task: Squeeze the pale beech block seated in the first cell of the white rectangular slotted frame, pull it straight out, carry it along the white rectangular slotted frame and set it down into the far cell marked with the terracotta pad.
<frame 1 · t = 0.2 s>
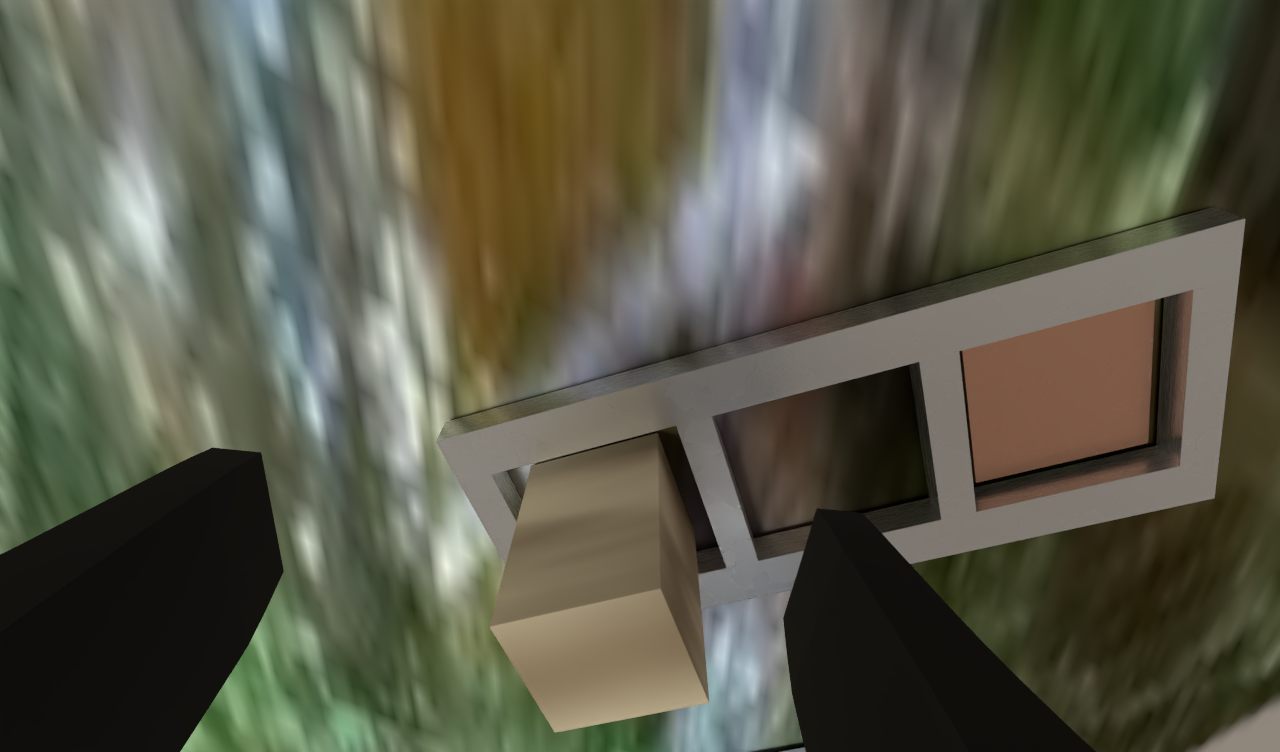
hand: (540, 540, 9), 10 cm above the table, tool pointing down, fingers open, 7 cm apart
white rectangular slotted frame: (823, 449, 20), on the table
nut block: (615, 500, 21), resting in white rectangular slotted frame
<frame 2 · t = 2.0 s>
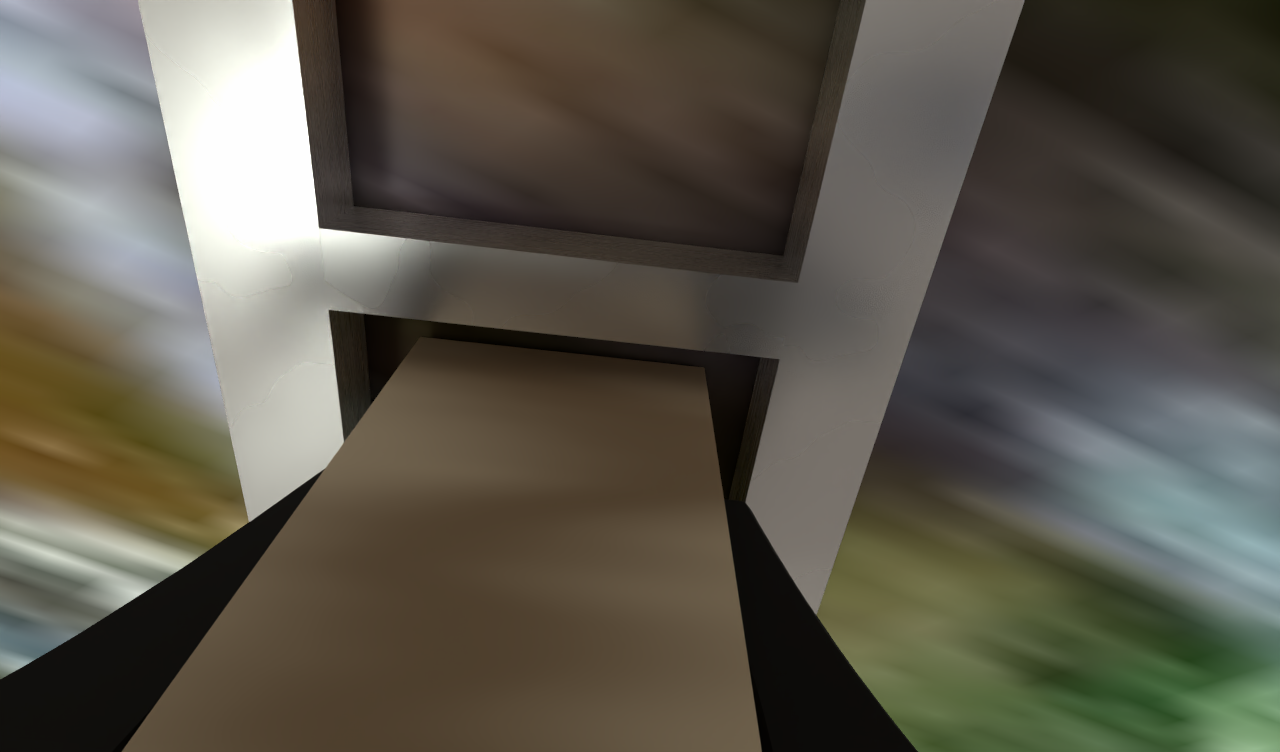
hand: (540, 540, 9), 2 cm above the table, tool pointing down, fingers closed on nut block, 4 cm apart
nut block: (555, 467, 10), resting in white rectangular slotted frame, touching gripper
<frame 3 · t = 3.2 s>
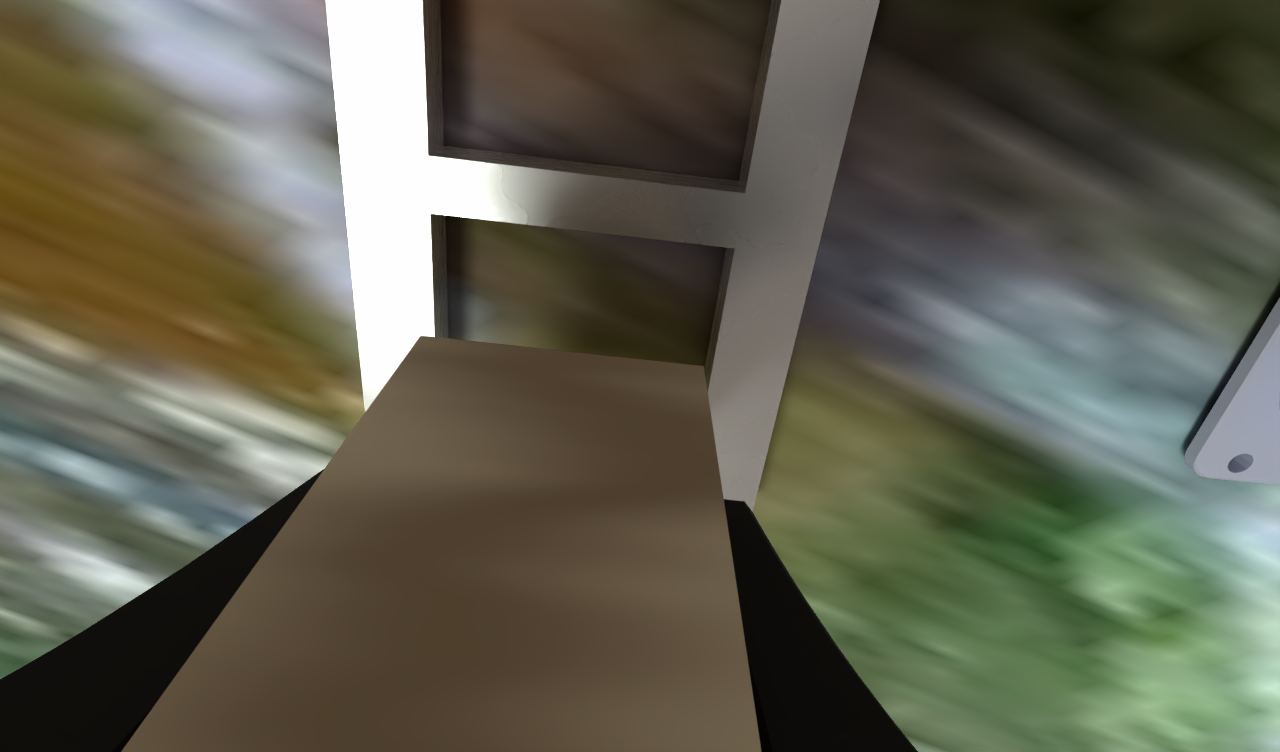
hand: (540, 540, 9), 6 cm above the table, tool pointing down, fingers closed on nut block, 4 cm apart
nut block: (555, 465, 10), point 4 cm above the table, touching gripper
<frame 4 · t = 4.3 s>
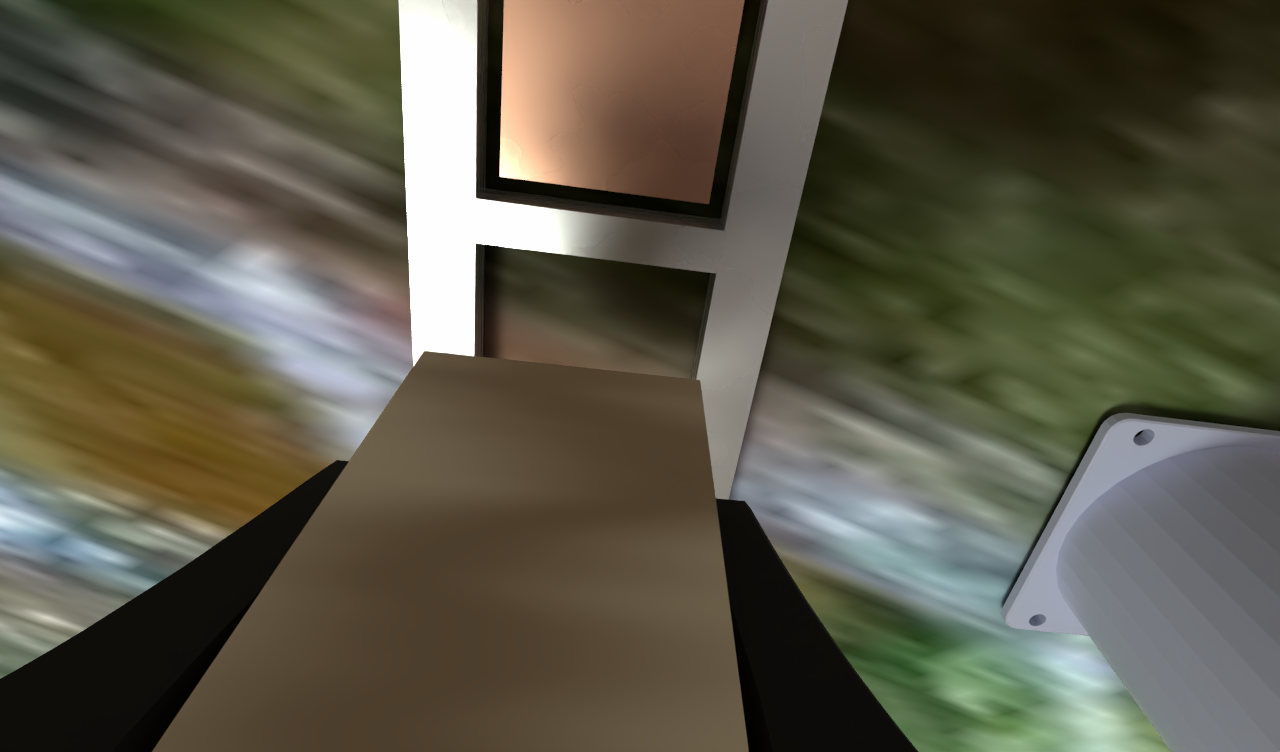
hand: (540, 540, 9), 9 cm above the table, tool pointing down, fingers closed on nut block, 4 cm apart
white rectangular slotted frame: (589, 347, 17), on the table
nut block: (556, 476, 11), point 7 cm above the table, touching gripper
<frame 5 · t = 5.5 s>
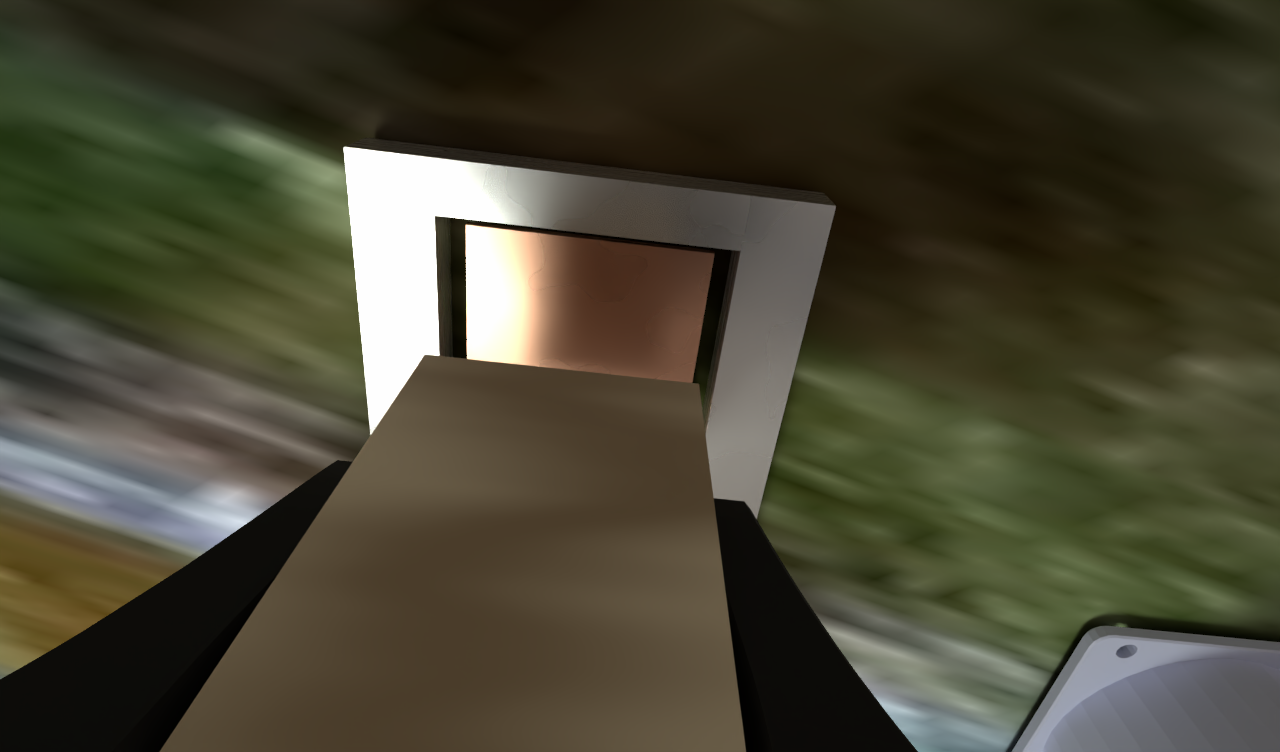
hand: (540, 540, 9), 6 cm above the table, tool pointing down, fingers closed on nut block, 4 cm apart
white rectangular slotted frame: (564, 572, 17), on the table
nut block: (555, 479, 11), point 4 cm above the table, touching gripper
when the fingers open (3 cm above the table, at t = 6.6 s): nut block stays where it is, resting on white rectangular slotted frame.
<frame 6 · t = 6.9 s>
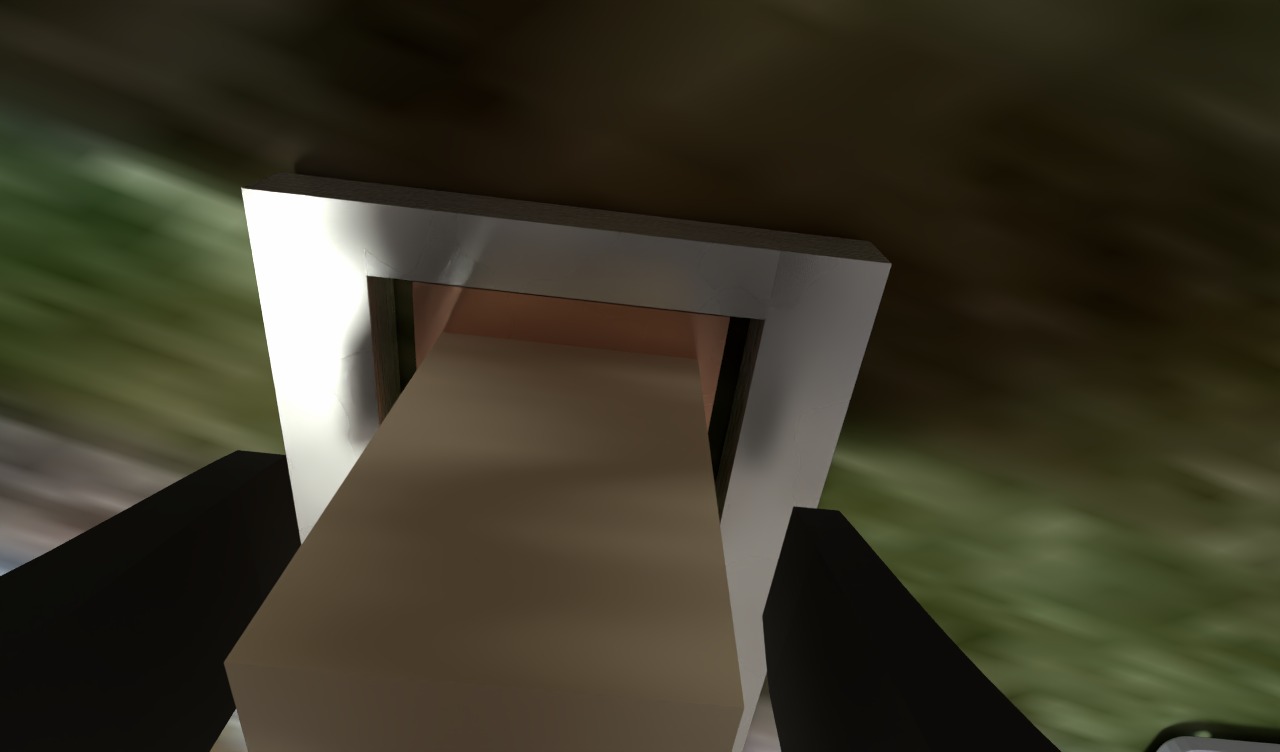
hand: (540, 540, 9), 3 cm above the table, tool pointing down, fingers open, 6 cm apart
white rectangular slotted frame: (546, 677, 14), on the table
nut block: (563, 450, 11), resting on white rectangular slotted frame
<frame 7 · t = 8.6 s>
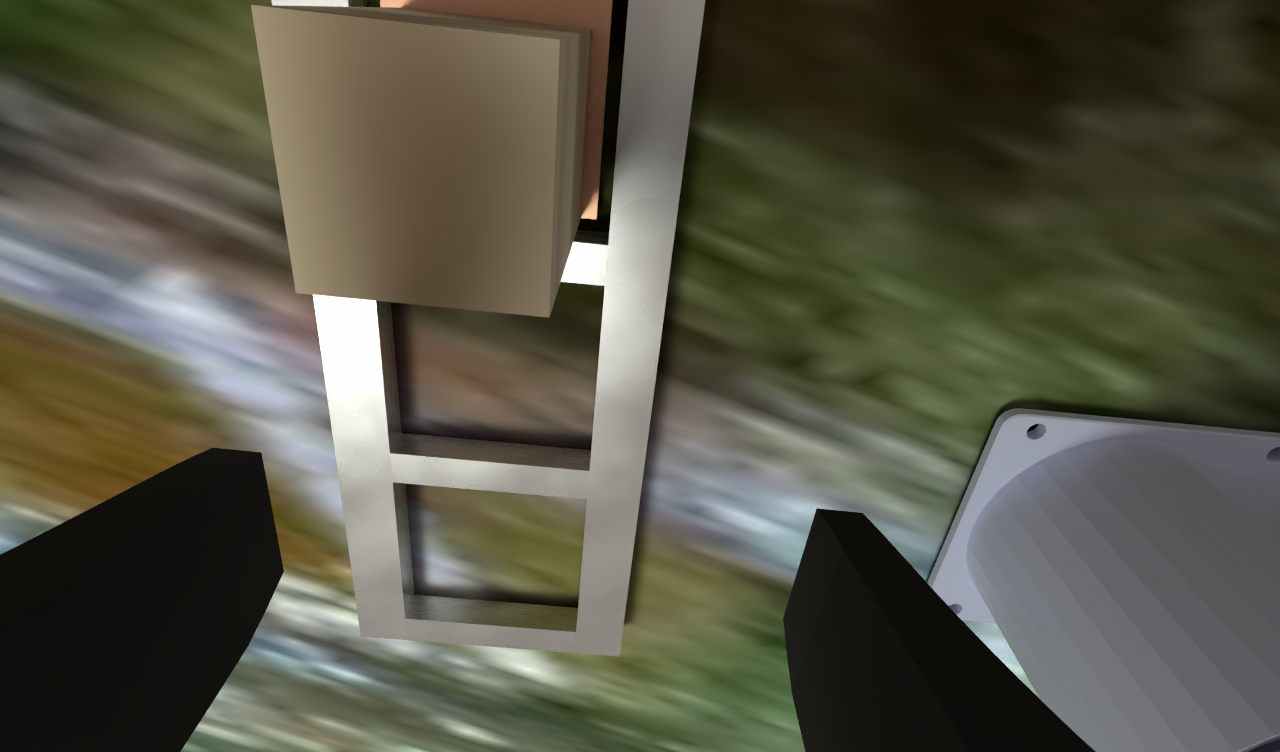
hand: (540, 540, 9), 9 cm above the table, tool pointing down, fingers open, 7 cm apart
white rectangular slotted frame: (497, 357, 18), on the table
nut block: (497, 119, 15), resting on white rectangular slotted frame
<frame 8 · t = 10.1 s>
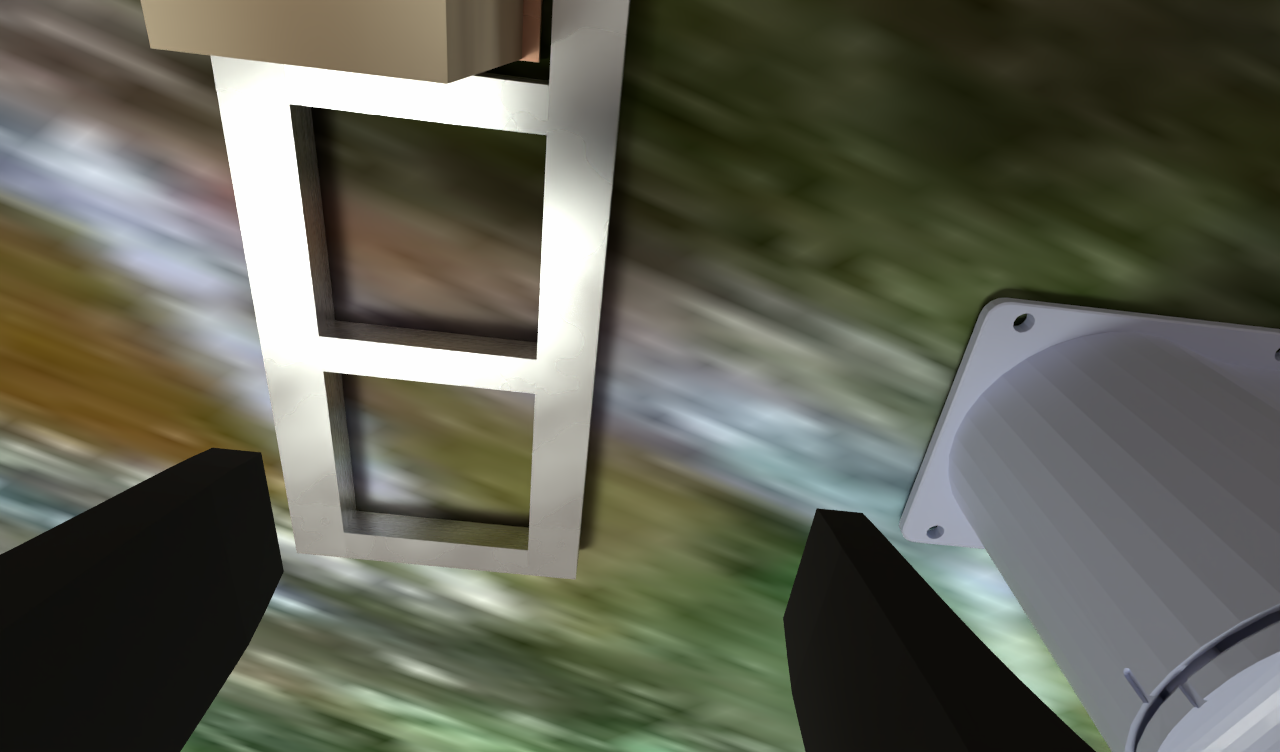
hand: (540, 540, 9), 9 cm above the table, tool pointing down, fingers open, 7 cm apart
white rectangular slotted frame: (436, 231, 17), on the table
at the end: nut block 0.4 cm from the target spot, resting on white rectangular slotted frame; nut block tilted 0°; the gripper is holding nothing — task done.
